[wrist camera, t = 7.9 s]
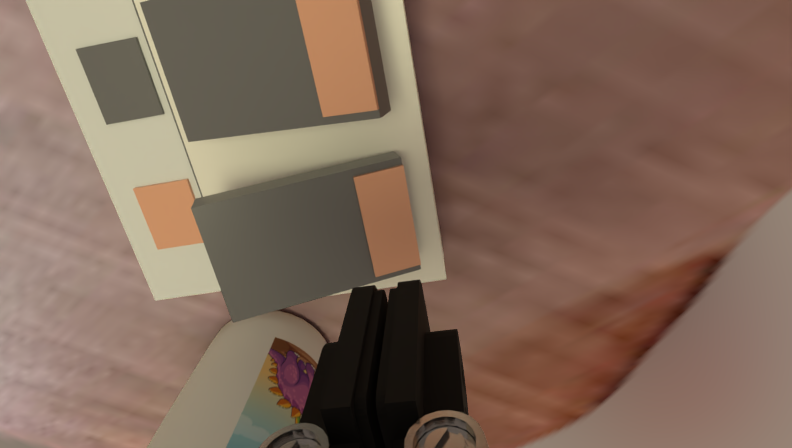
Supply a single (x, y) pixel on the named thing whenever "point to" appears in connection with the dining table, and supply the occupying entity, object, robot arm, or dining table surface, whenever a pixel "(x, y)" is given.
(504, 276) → the dining table surface
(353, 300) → the robot arm
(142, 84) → the switch board
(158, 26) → the switch middle
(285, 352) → the milk bottle
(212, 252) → the switch
